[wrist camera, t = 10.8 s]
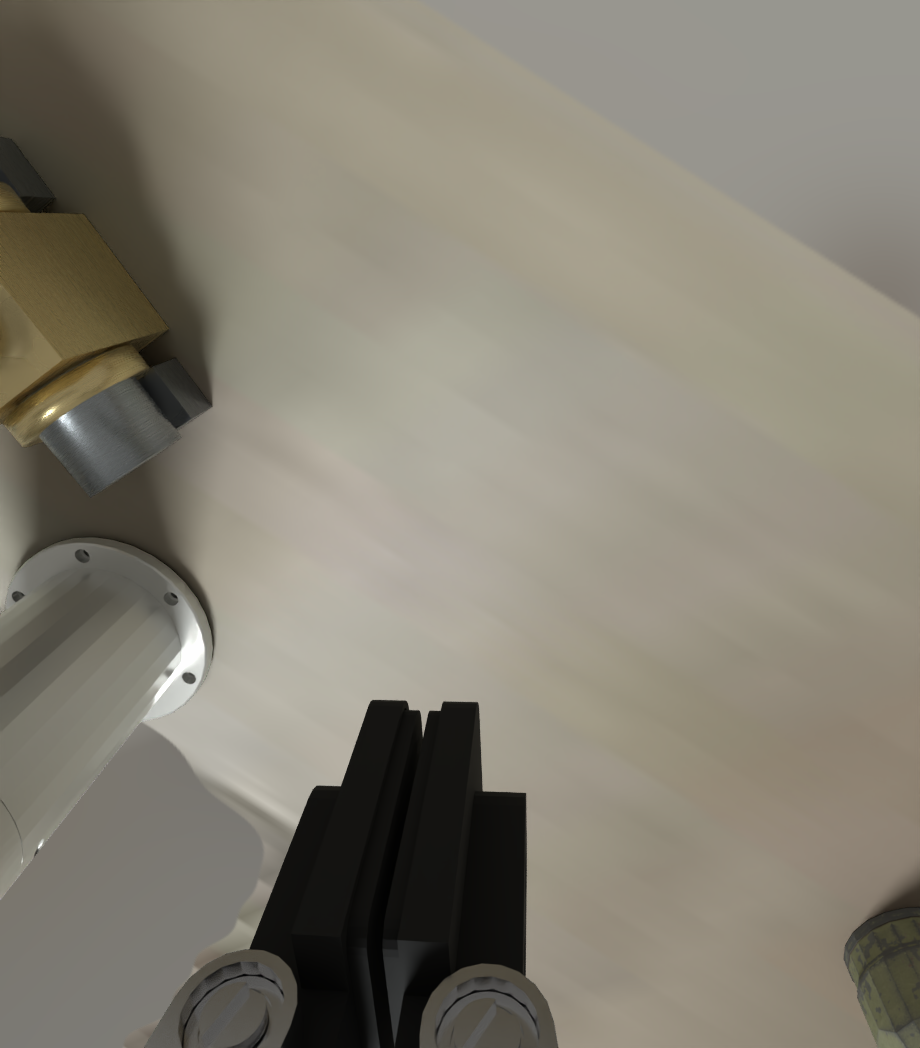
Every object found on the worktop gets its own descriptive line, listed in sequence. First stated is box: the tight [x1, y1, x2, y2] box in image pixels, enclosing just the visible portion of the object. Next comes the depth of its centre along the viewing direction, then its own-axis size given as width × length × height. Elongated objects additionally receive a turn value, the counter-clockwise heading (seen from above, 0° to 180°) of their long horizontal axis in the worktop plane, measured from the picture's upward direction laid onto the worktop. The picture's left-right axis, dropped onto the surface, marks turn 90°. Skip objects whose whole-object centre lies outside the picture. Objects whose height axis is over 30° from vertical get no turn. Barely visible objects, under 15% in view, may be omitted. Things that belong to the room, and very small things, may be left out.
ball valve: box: [0, 137, 212, 498], centre depth 32 cm, size 7×16×9 cm, turn 33°
